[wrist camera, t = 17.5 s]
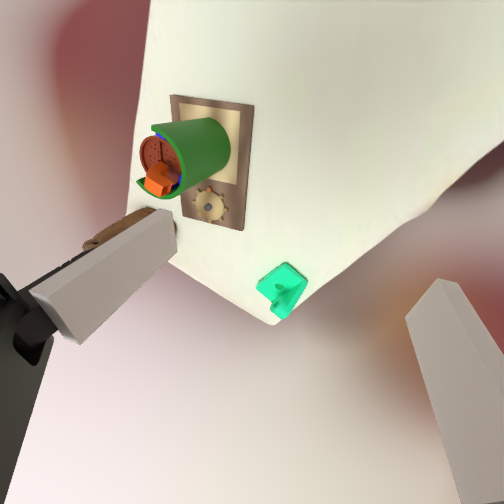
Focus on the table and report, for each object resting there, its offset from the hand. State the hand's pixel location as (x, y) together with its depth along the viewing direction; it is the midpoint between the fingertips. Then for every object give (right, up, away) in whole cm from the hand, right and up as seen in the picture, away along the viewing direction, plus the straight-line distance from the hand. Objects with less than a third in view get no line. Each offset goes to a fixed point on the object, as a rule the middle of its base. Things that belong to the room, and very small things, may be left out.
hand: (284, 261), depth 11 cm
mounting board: (-10, +18, +36) cm, 41 cm away
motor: (-10, +21, +32) cm, 40 cm away
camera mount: (+6, -7, +48) cm, 49 cm away
